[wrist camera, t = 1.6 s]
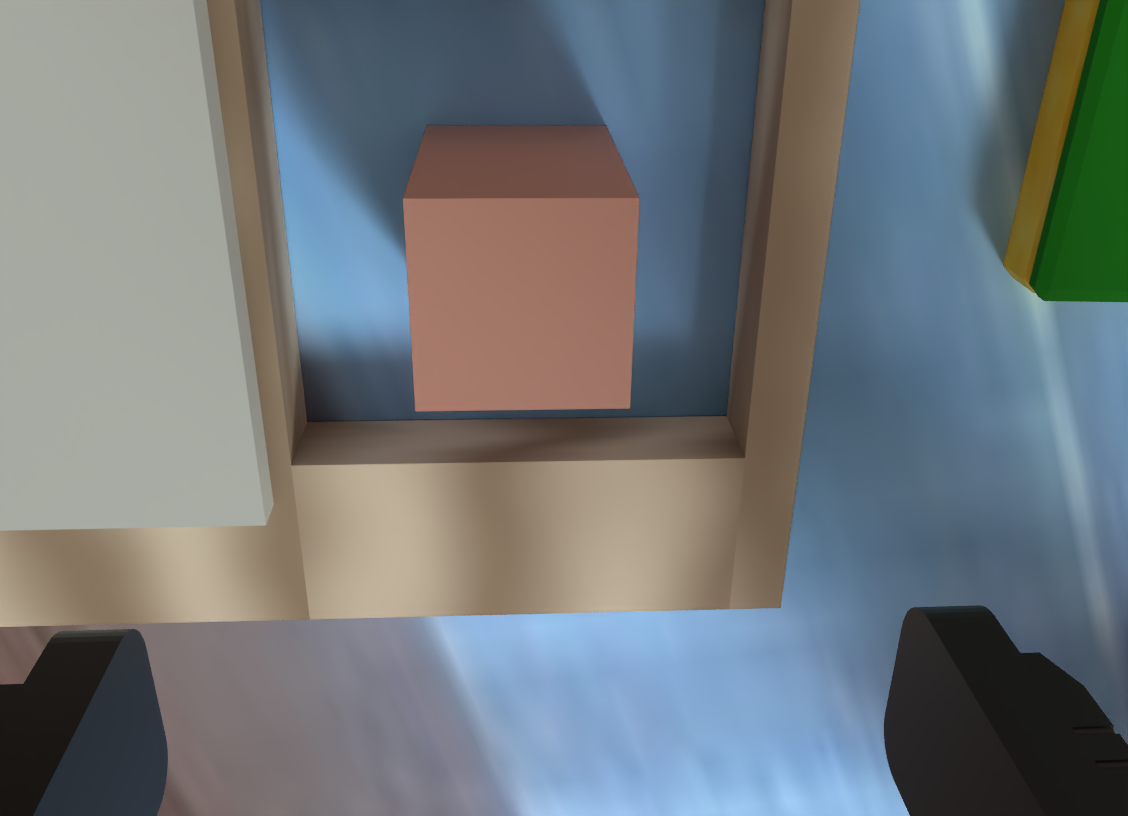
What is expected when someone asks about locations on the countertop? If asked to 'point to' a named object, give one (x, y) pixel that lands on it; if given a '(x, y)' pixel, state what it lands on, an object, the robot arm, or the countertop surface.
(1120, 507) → the countertop surface
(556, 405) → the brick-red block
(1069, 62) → the dish sponge
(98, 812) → the robot arm
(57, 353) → the cover
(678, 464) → the board
